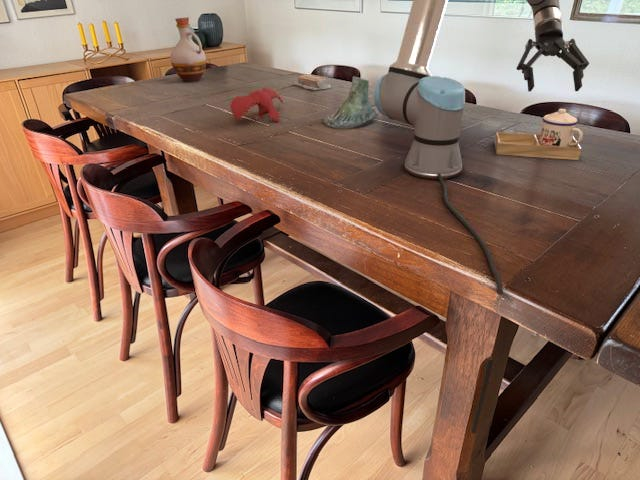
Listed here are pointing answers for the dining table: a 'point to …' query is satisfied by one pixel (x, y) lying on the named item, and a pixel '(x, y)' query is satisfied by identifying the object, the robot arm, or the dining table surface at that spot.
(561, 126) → the teacup with lid
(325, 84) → the packaged product
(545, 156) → the organizer
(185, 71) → the jug
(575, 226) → the dining table surface
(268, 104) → the red animal figurine
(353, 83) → the tree stump
